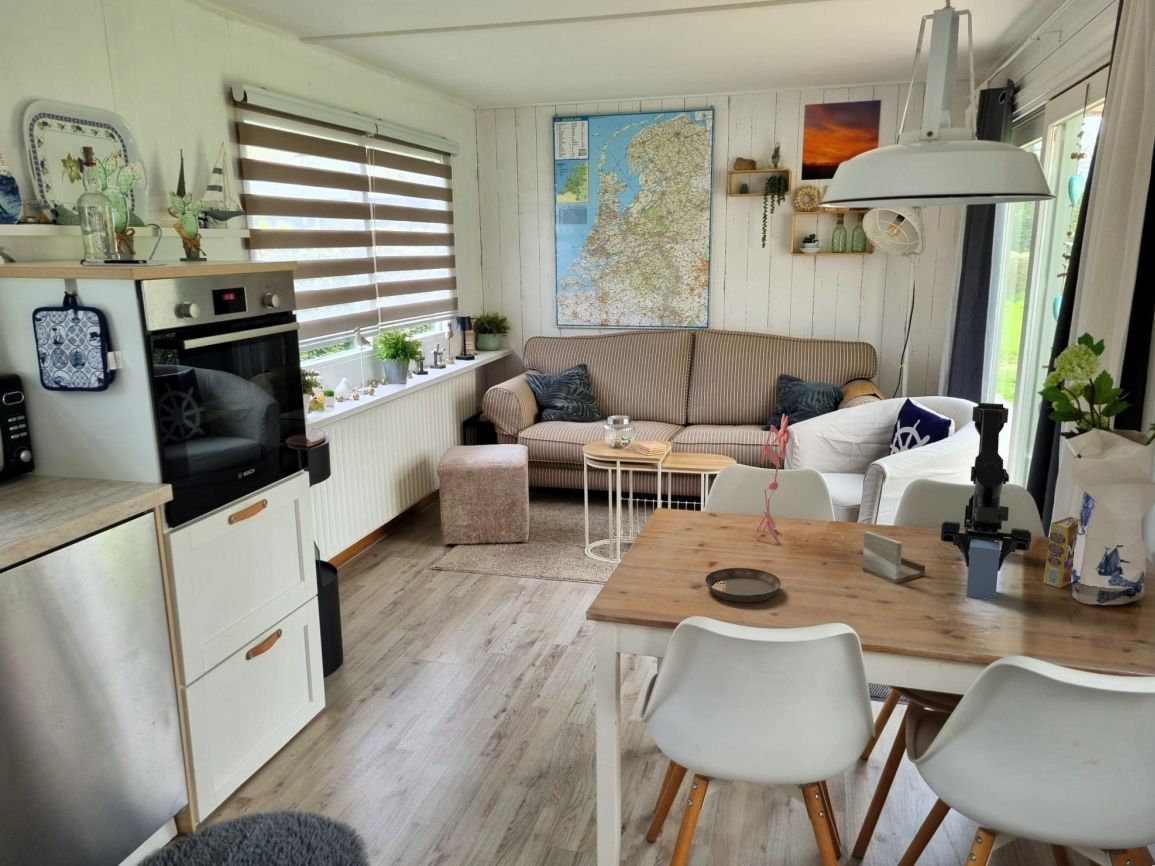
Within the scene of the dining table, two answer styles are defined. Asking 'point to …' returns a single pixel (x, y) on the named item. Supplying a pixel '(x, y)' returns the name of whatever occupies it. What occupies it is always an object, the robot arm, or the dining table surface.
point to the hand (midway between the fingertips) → (983, 568)
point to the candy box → (1061, 552)
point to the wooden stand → (888, 559)
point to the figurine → (773, 485)
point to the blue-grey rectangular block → (983, 569)
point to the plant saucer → (744, 584)
